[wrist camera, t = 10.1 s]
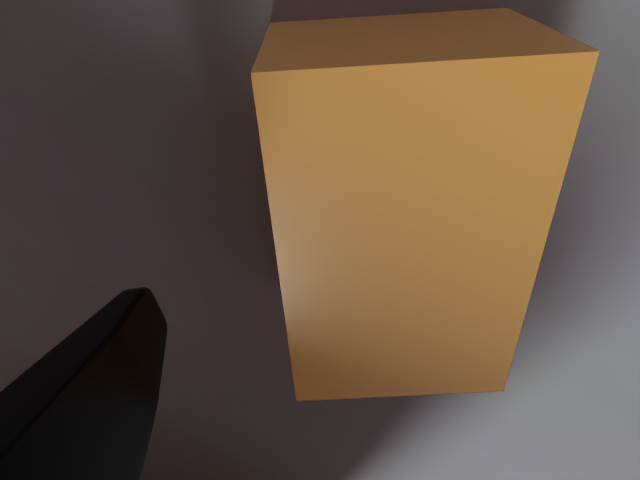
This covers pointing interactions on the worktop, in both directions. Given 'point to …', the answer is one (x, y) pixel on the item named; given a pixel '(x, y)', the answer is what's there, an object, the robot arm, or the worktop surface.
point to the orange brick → (413, 191)
